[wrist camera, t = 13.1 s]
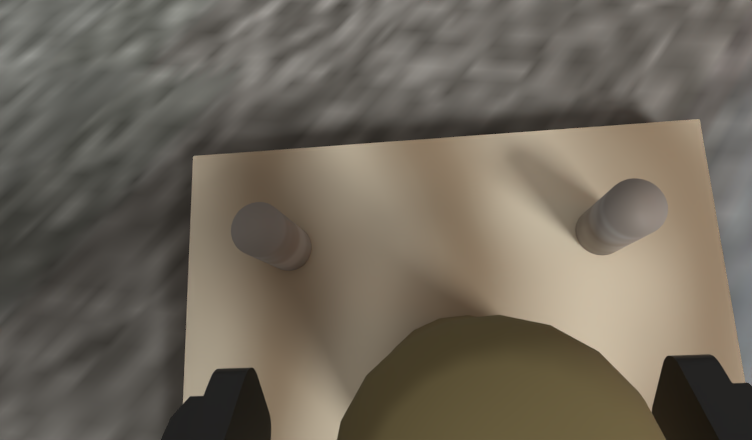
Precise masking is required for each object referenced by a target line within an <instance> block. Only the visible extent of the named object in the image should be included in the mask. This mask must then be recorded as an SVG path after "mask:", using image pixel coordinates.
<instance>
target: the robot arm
mask: <svg viewBox="0 0 752 440" xmlns="http://www.w3.org/2000/svg"><path fill="white" fill-rule="evenodd" d="M652 414H653V416H654V418H655V420H656V422H657V424H658V425H659V427H660V429H661V431H662V433H663V435H664V436H665V438H666V440H752V386H751V385H750V384H749V383H732V382H731V380H730V379H729V377H728V375H727V374H726V372H725V371H724V369H723V367H722V366H721V364H720V363H719V361H718V360H717V359H716V358H715V357H714V356H713V355H710V354H701V355H670V356H667V357H666V358H665V359H664V362H663V365H662V369H661V373H660V377H659V382H658V386H657V390H656V394H655V398H654V402H653V406H652ZM161 440H271V418H270V413H269V410H268V407H267V404H266V401H265V397H264V394H263V391H262V388H261V385H260V382H259V379H258V376H257V373H256V371H255V369H254V368H223V369H216V370H215V371H214V372H213V374H212V376H211V378H210V380H209V383H208V385H207V388H206V390H205V393H204V396H190V397H189V398H188V399H187V400H186V401H185V402H184V404H183V405H182V406H181V407H180V408H179V409H178V410H177V411H176V413H175V414H174V415H173V416H172V417H171V418H170V421H169V423H168V425H167V427H166V430H165V432H164V434H163V436H162V439H161Z"/></svg>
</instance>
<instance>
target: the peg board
mask: <svg viewBox="0 0 752 440" xmlns="http://www.w3.org/2000/svg"><path fill="white" fill-rule="evenodd" d="M465 315H470V316H475V317H482V316H491V315H503V316H508V317H513V318H518V319H523V320H528V321H533V322H538V323H543V324H548V325H551V326H553V327H555V328H557V329H559V330H560V331H562V332H564V333H566V334H568V335H570V336H571V337H573V338H575V339H577V340H579V341H580V342H582V343H584V344H586V345H588V346H590V347H591V348H593V349H595V350H597V351H599V352H600V353H601V354H602V355H603V356H604V357H605V358H606V359H607V360H608V361H609V362H610V363H611V364H612V365H613V366H614V367H615V368H616V369H617V370H618V371H619V372H620V373H621V374H622V375H623V376H624V377H625V378H626V379H627V380H628V381H629V382H630V383H631V385H632V386H633V387H634V388H635V389H636V390H637V391H638V392H639V393H640V394H641V396H642V397H643V398H644V400H645V401H646V403H647V405H648V407H649V409H650V411H651V412H652V406H653V402H654V398H655V394H656V390H657V386H658V382H659V377H660V373H661V369H662V365H663V362H664V359H665V358H666V357H667V356H670V355H701V354H710V355H713V356H714V357H715V358H716V359H717V360H718V361H719V363H720V364H721V366H722V367H723V369H724V371H725V372H726V374H727V375H728V377H729V379H730V380H731V382H732V383H745V378H744V373H743V367H742V361H741V355H740V350H739V344H738V338H737V332H736V327H735V321H734V315H733V309H732V304H731V298H730V292H729V286H728V281H727V275H726V269H725V263H724V258H723V252H722V246H721V240H720V235H719V229H718V223H717V217H716V212H715V206H714V200H713V194H712V188H711V183H710V177H709V171H708V165H707V160H706V154H705V148H704V142H703V137H702V131H701V125H700V119H695V120H681V121H667V122H654V123H640V124H626V125H612V126H599V127H585V128H571V129H557V130H544V131H530V132H516V133H503V134H489V135H475V136H461V137H448V138H434V139H420V140H406V141H393V142H379V143H365V144H351V145H338V146H324V147H310V148H297V149H283V150H269V151H255V152H242V153H228V154H214V155H200V156H193V171H192V196H191V220H190V244H189V269H188V293H187V317H186V341H185V366H184V390H183V404H184V402H185V401H186V400H187V399H188V398H189V397H190V396H204V393H205V390H206V388H207V385H208V383H209V380H210V378H211V376H212V374H213V372H214V371H215V370H216V369H223V368H254V369H255V371H256V373H257V376H258V379H259V382H260V385H261V388H262V391H263V394H264V397H265V401H266V404H267V407H268V410H269V413H270V418H271V440H337V436H338V432H339V427H340V422H341V420H342V418H343V416H344V414H345V413H346V411H347V409H348V407H349V405H350V404H351V402H352V400H353V398H354V396H355V395H356V393H357V391H358V389H359V387H360V386H361V384H362V382H363V380H364V379H365V377H366V375H367V374H368V373H369V372H370V371H372V370H373V369H374V368H375V367H376V366H377V365H378V364H379V363H380V362H381V361H382V360H383V359H384V358H386V357H387V356H388V355H389V354H390V353H391V352H392V351H393V349H394V348H395V347H396V346H397V345H399V344H400V343H401V342H402V341H403V340H404V339H405V338H406V337H407V336H408V335H409V334H410V333H411V332H413V331H414V330H415V329H418V328H420V327H422V326H424V325H426V324H428V323H431V322H433V321H435V320H437V319H439V318H447V317H456V316H465Z"/></svg>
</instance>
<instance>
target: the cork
mask: <svg viewBox="0 0 752 440" xmlns="http://www.w3.org/2000/svg"><path fill="white" fill-rule="evenodd" d="M337 440H666V438H665V436H664V435H663V433H662V431H661V429H660V427H659V425H658V424H657V422H656V420H655V418H654V416H653V414H652V412H651V411H650V409H649V407H648V405H647V403H646V401H645V400H644V398H643V397H642V396H641V394H640V393H639V392H638V391H637V390H636V389H635V388H634V387H633V386H632V385H631V383H630V382H629V381H628V380H627V379H626V378H625V377H624V376H623V375H622V374H621V373H620V372H619V371H618V370H617V369H616V368H615V367H614V366H613V365H612V364H611V363H610V362H609V361H608V360H607V359H606V358H605V357H604V356H603V355H602V354H601V353H600V352H599V351H597V350H595V349H593V348H591V347H590V346H588V345H586V344H584V343H582V342H580V341H579V340H577V339H575V338H573V337H571V336H570V335H568V334H566V333H564V332H562V331H560V330H559V329H557V328H555V327H553V326H551V325H548V324H543V323H538V322H533V321H528V320H523V319H518V318H513V317H508V316H503V315H491V316H482V317H475V316H470V315H465V316H456V317H447V318H439V319H437V320H435V321H433V322H431V323H428V324H426V325H424V326H422V327H420V328H418V329H415V330H414V331H413V332H411V333H410V334H409V335H408V336H407V337H406V338H405V339H404V340H403V341H402V342H401V343H400V344H399V345H397V346H396V347H395V348H394V349H393V351H392V352H391V353H390V354H389V355H388V356H387V357H386V358H384V359H383V360H382V361H381V362H380V363H379V364H378V365H377V366H376V367H375V368H374V369H373V370H372V371H370V372H369V373H368V374H367V375H366V377H365V379H364V380H363V382H362V384H361V386H360V387H359V389H358V391H357V393H356V395H355V396H354V398H353V400H352V402H351V404H350V405H349V407H348V409H347V411H346V413H345V414H344V416H343V418H342V420H341V422H340V427H339V432H338V436H337Z"/></svg>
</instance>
